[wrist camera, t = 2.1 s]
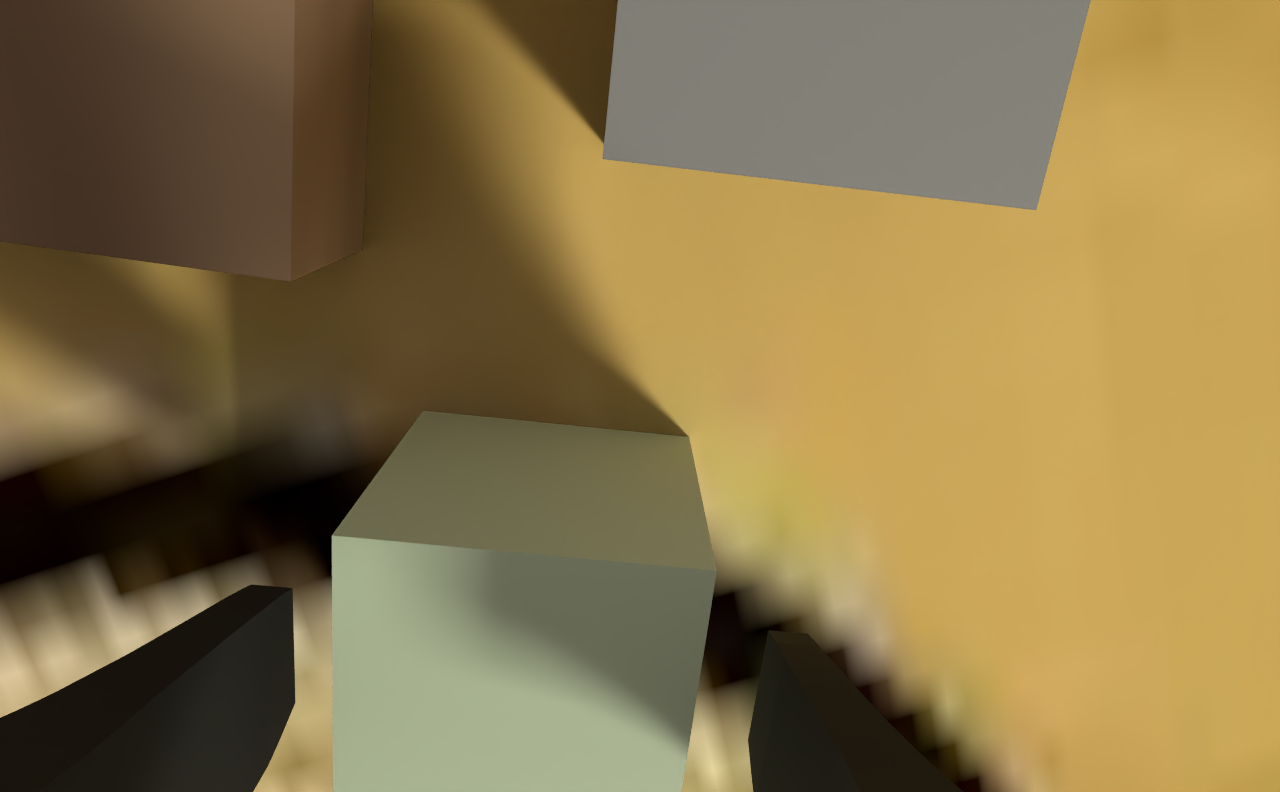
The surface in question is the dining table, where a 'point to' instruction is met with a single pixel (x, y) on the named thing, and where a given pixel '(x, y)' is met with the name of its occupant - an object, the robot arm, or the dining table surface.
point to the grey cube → (847, 91)
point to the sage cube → (520, 611)
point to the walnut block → (187, 130)
